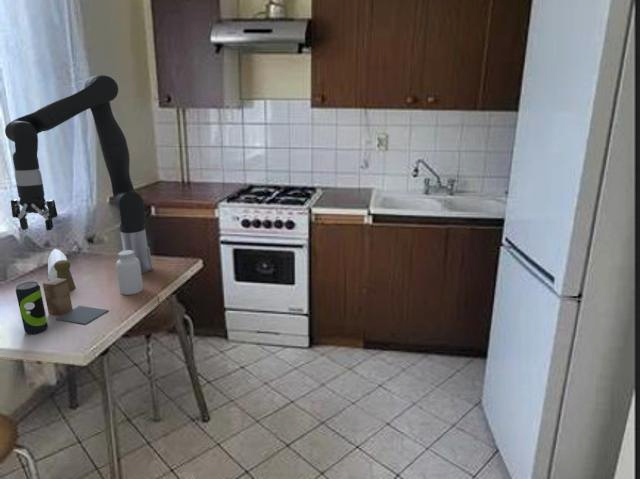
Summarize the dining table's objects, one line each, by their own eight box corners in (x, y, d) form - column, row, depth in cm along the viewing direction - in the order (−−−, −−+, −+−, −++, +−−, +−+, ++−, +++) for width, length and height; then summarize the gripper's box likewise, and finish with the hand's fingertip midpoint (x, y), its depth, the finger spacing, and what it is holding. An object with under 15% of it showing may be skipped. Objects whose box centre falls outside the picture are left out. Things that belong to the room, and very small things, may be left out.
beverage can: (34, 325, 148) (24, 280, 144) (52, 325, 148) (43, 281, 143) (20, 334, 142) (9, 288, 138) (39, 335, 142) (29, 289, 137)
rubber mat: (55, 319, 152) (55, 318, 152) (79, 306, 161) (79, 305, 161) (85, 324, 148) (85, 323, 148) (108, 311, 157) (108, 310, 157)
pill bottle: (121, 297, 168) (115, 257, 164) (119, 289, 175) (113, 250, 170) (144, 292, 171) (139, 253, 167) (141, 285, 178) (136, 247, 174)
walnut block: (48, 314, 156) (41, 283, 153) (60, 307, 160) (54, 277, 157) (60, 316, 154) (54, 284, 151) (72, 309, 159) (67, 279, 156)
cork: (68, 292, 173) (62, 264, 169) (53, 291, 174) (48, 263, 171) (79, 286, 178) (74, 258, 175) (65, 285, 179) (60, 257, 176)
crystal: (73, 268, 186) (70, 252, 206) (53, 263, 182) (53, 246, 202) (65, 286, 186) (63, 267, 206) (46, 280, 182) (46, 262, 202)
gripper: (1, 184, 154) (9, 232, 159) (43, 185, 154) (51, 233, 158) (16, 180, 162) (24, 226, 166) (57, 181, 161) (63, 227, 166)
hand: (37, 229), depth 162 cm, fingers open, 8 cm apart
